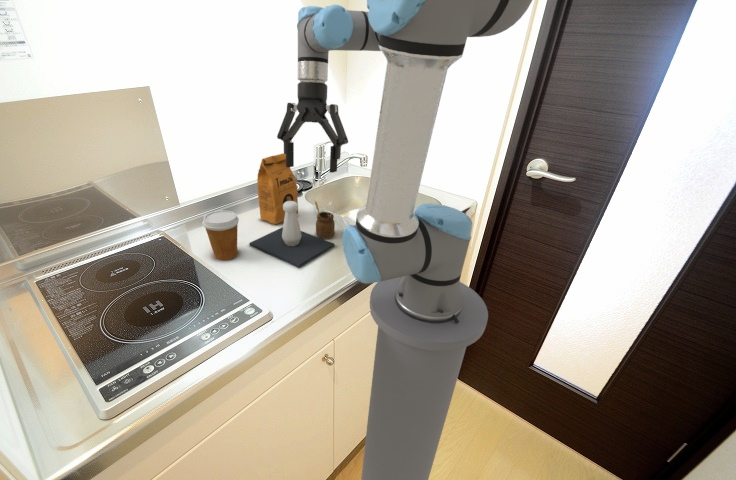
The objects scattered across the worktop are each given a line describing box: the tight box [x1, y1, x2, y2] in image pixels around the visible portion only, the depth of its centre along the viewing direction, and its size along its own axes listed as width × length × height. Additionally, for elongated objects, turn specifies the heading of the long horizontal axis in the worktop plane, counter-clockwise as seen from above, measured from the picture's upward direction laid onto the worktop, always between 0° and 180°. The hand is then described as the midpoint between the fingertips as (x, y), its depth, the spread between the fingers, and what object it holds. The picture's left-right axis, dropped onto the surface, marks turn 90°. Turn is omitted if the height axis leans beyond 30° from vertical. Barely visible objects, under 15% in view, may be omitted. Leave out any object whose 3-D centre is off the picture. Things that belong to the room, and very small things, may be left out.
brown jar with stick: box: [314, 200, 336, 240], centre depth 114 cm, size 6×6×12 cm
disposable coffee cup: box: [201, 209, 240, 261], centre depth 102 cm, size 10×10×12 cm
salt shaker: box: [282, 201, 302, 246], centre depth 107 cm, size 6×6×13 cm
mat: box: [249, 226, 336, 269], centre depth 110 cm, size 20×16×1 cm
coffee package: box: [256, 152, 299, 225], centre depth 121 cm, size 10×12×22 cm
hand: (311, 169), depth 99 cm, fingers open, 13 cm apart
